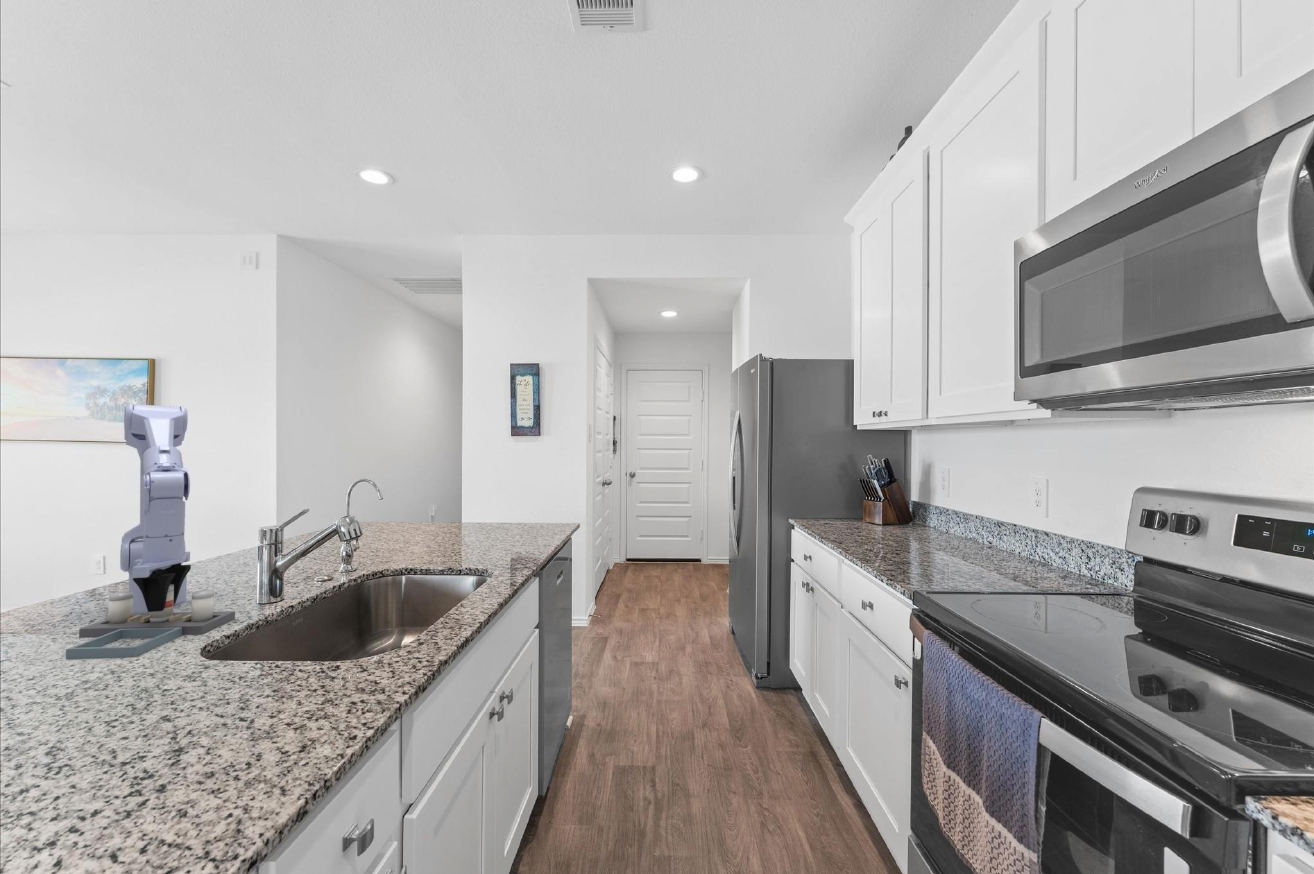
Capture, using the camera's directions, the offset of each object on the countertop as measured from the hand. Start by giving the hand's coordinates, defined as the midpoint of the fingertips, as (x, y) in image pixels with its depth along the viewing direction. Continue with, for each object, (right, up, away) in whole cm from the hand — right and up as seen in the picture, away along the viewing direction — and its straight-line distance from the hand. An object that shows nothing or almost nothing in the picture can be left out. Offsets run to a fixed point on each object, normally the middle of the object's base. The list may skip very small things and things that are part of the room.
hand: (161, 608), depth 102 cm
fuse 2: (+7, -4, +1) cm, 8 cm away
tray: (+3, -4, -10) cm, 11 cm away
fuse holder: (0, -5, 0) cm, 5 cm away
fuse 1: (-7, -4, -1) cm, 8 cm away
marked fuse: (0, -2, 0) cm, 2 cm away
